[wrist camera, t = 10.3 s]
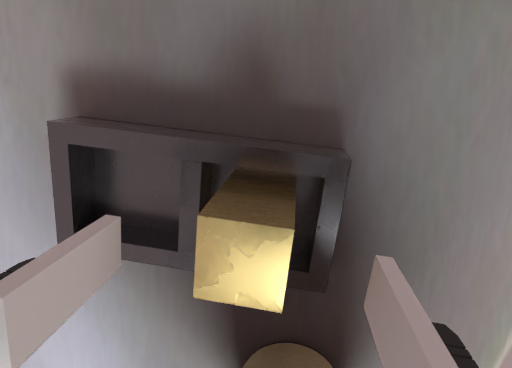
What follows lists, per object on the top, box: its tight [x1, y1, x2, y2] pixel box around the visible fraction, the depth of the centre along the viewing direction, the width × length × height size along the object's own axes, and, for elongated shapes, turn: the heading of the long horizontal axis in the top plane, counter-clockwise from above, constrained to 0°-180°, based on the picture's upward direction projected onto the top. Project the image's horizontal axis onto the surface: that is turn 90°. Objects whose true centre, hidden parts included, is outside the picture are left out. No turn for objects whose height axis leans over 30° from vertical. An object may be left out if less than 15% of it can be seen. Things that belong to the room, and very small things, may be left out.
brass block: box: [193, 169, 297, 313], centre depth 18 cm, size 4×4×8 cm
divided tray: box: [47, 117, 352, 293], centre depth 21 cm, size 8×18×3 cm, turn 84°
